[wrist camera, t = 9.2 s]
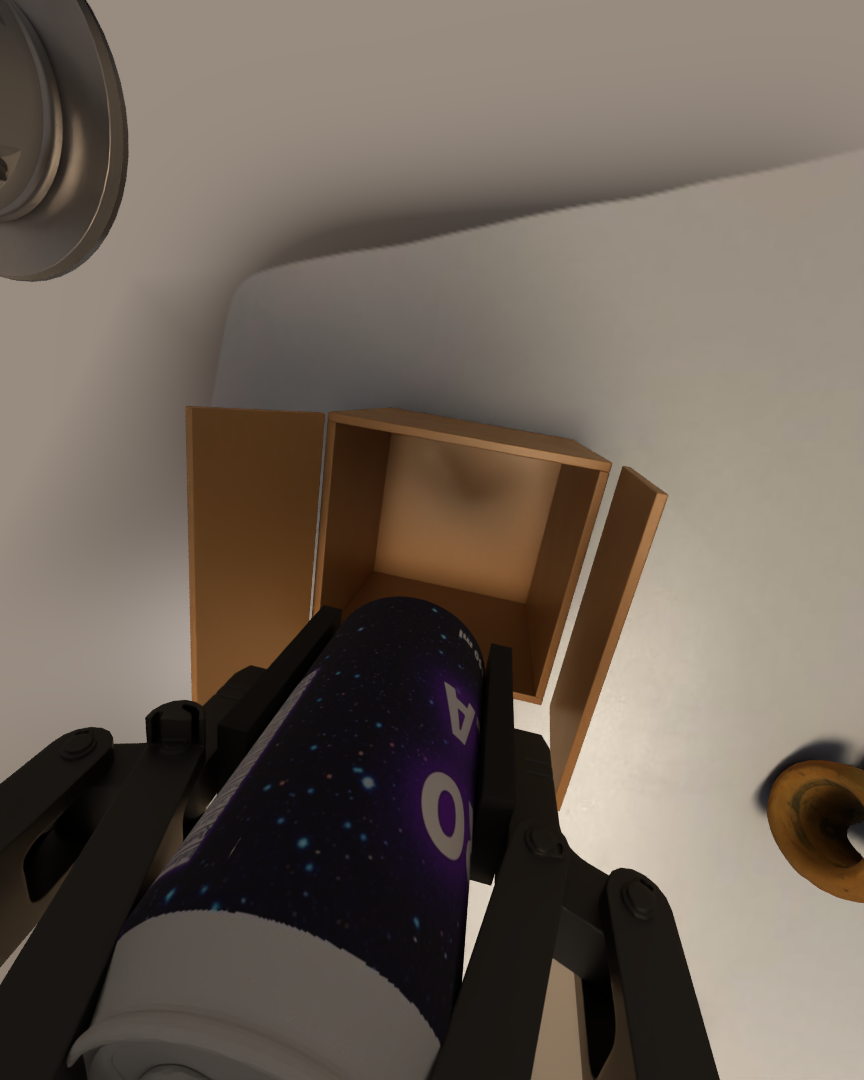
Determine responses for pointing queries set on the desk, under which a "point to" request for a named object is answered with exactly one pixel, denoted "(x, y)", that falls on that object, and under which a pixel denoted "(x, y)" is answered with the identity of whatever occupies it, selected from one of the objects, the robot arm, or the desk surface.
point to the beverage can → (316, 879)
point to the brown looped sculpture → (820, 824)
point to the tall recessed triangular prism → (558, 1030)
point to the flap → (249, 536)
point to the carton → (488, 545)
